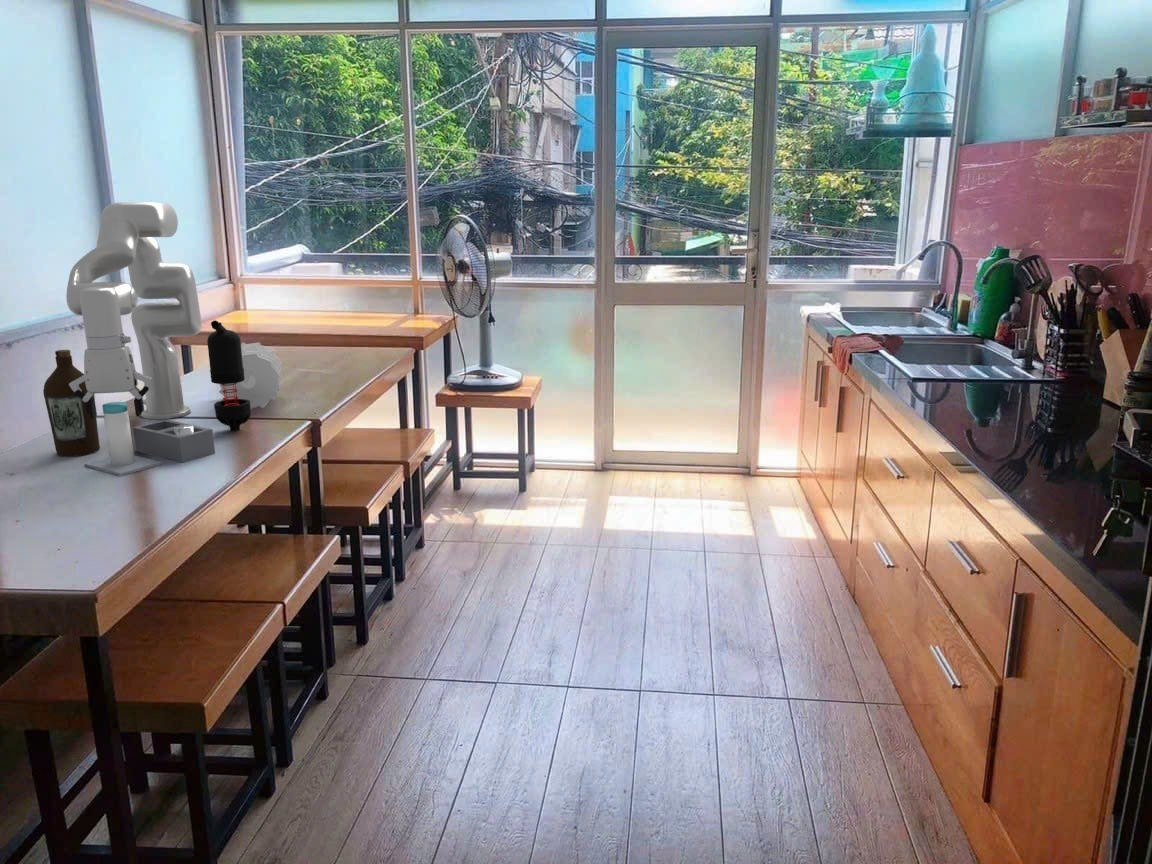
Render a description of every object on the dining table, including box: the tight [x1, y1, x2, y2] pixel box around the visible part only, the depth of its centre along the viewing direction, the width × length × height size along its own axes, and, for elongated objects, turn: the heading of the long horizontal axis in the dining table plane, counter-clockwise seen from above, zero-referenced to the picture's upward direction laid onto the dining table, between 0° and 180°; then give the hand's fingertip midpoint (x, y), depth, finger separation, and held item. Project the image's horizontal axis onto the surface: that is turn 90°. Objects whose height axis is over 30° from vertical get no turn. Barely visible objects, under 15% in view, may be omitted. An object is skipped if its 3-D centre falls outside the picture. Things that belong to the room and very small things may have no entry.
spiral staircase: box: [218, 341, 283, 410], centre depth 265 cm, size 18×18×25 cm
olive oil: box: [42, 349, 101, 458], centre depth 216 cm, size 11×11×25 cm
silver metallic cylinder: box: [174, 424, 195, 436], centre depth 216 cm, size 4×4×5 cm
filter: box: [206, 320, 252, 432], centre depth 236 cm, size 14×9×30 cm
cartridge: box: [102, 401, 135, 466], centre depth 207 cm, size 5×5×14 cm
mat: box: [84, 454, 162, 477], centre depth 209 cm, size 14×10×1 cm
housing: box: [132, 419, 216, 463], centre depth 218 cm, size 18×9×6 cm, turn 59°
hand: (116, 416), depth 206 cm, fingers open, 9 cm apart
